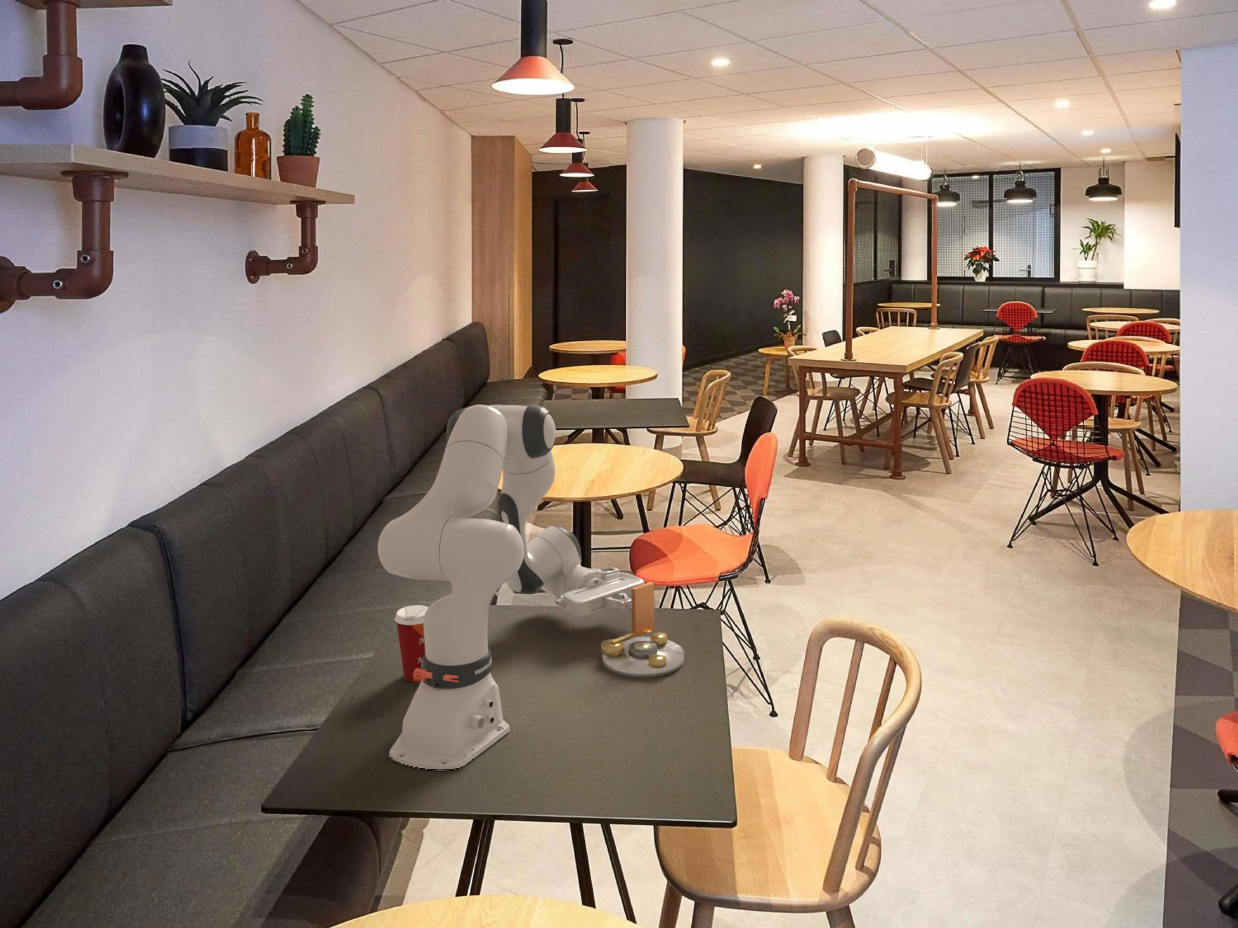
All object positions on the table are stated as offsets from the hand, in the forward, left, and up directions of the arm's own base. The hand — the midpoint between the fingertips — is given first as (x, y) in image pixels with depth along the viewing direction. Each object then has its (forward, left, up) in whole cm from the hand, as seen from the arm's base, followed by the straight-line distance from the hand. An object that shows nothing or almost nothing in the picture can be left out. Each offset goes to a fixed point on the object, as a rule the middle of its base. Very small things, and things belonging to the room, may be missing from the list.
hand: (628, 605), depth 207 cm
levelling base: (-8, -6, -9) cm, 13 cm away
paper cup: (-28, +36, -9) cm, 46 cm away
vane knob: (-6, -2, -7) cm, 9 cm away
